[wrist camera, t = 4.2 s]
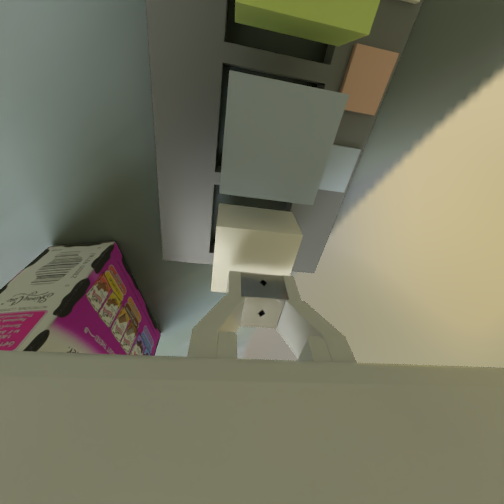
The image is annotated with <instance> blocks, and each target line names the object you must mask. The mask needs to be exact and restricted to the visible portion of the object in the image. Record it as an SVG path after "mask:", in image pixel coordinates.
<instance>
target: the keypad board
mask: <svg viewBox="0 0 504 504" xmlns="http://www.w3.org/2000/svg"><path fill="white" fill-rule="evenodd" d="M422 3H423V0H380V3H379V6H378V9H377V12H376V15H375V18H374V21H373V24H372V27H371V30H370V33H369V35H367V36H364V37H362V38H359V39H357V40H354V41H352V42H349V43H346V44H344V45H341V46H339V47H338V46H334V45H329V44H328V47H327V50H326V54H325V58H324V62H323V63H319V62H315V61H310V60H306V59H301V58H297V57H292V56H288V55H283V54H279V53H274V52H269V51H265V50H260V49H256V48H251V47H247V46H242V45H238V44H233V43H229V42H225V37H226V23H227V9H228V0H146V15H147V30H148V45H149V60H150V75H151V90H152V105H153V120H154V134H155V149H156V164H157V179H158V194H159V209H160V224H161V239H162V254H163V260H165V261H177V262H189V263H200V264H212V265H213V260H214V248H215V244H214V243H211V231H212V217H213V203H214V189H215V185H220V177H221V167H219V166H216V162H217V148H218V134H219V120H220V106H221V92H222V79H223V65H228V66H233V67H238V68H243V69H248V70H252V71H257V72H262V73H267V74H272V75H276V76H281V77H286V78H291V79H296V80H301V81H305V82H310V83H315V84H318V85H317V88H319V89H324V90H329V91H334V92H339V93H344V94H349V97H348V100H347V103H346V106H345V109H344V112H343V115H342V118H341V121H340V125H339V128H338V131H337V134H336V137H335V140H334V143H333V146H332V149H331V152H330V155H329V158H328V161H327V164H326V167H325V170H324V173H323V176H322V179H321V182H320V185H319V188H318V192H317V195H316V198H315V201H314V204H313V205H305V204H297V203H289V202H287V204H286V208H285V211H288V212H292V213H293V215H294V217H295V219H296V221H297V224H298V226H299V228H300V230H301V232H302V234H303V237H302V240H301V243H300V246H299V249H298V252H297V255H296V259H295V262H294V265H293V268H292V271H295V272H307V273H314V272H315V270H316V267H317V265H318V262H319V260H320V257H321V255H322V252H323V250H324V247H325V245H326V242H327V240H328V237H329V235H330V232H331V230H332V227H333V225H334V222H335V220H336V217H337V215H338V212H339V210H340V207H341V205H342V202H343V200H344V197H345V195H346V192H347V190H348V187H349V185H350V182H351V180H352V177H353V175H354V172H355V170H356V167H357V165H358V162H359V160H360V157H361V155H362V152H363V150H364V147H365V145H366V142H367V140H368V138H369V135H370V133H371V130H372V128H373V125H374V123H375V120H376V118H377V115H378V113H379V110H380V108H381V105H382V103H383V100H384V98H385V95H386V93H387V90H388V88H389V85H390V83H391V80H392V78H393V75H394V73H395V70H396V68H397V65H398V63H399V60H400V58H401V55H402V53H403V50H404V48H405V45H406V43H407V40H408V38H409V35H410V33H411V30H412V28H413V25H414V23H415V20H416V18H417V15H418V13H419V10H420V8H421V5H422Z"/></svg>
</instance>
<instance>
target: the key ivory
mask: <svg viewBox="0 0 504 504" xmlns="http://www.w3.org/2000/svg"><path fill="white" fill-rule="evenodd" d="M302 237H303V234H302V232H301V230H300V228H299V226H298V224H297V221H296V219H295V217H294V215H293V213H292V212H288V211H280V210H272V209H263V208H255V207H247V206H239V205H231V204H223V203H219V208H218V216H217V225H216V236H215V248H214V260H213V271H212V283H211V292H226V289H227V282H228V274H229V271H239V272H249V273H258V274H269V275H281V276H282V275H285V276H290V274H291V271H292V268H293V265H294V262H295V259H296V255H297V252H298V249H299V246H300V243H301V240H302Z"/></svg>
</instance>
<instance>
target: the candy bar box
mask: <svg viewBox="0 0 504 504" xmlns="http://www.w3.org/2000/svg"><path fill="white" fill-rule="evenodd" d="M159 339H160V332H159V330H158V328H157V326H156V324H155V322H154V320H153V318H152V316H151V314H150V312H149V310H148V308H147V306H146V304H145V302H144V300H143V298H142V296H141V294H140V292H139V290H138V288H137V285H136V283H135V281H134V279H133V277H132V275H131V273H130V271H129V269H128V267H127V265H126V262H125V260H124V258H123V256H122V254H121V252H120V250H119V248H118V246H117V244H116V242H114V241H110V242H97V243H90V244H74V245H71V244H70V245H60V246H51V247H48V248H47V249H46V250H45V251H44V252H42V253H41V254H40V255H39V256H38V257H37V258H36V259H35V260H33V261H32V262H31V263H30V264H29V265H28V266H27V267H25V268H24V269H23V270H22V271H21V272H20V273H19V274H18V275H16V276H15V277H14V278H13V279H12V280H11V281H10V282H9V283H7V284H6V285H5V286H4V287H3V288H2V289H0V350H4V351H33V352H63V353H92V354H121V355H149V356H154V355H155V352H156V348H157V345H158V342H159Z"/></svg>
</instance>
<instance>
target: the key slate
mask: <svg viewBox="0 0 504 504" xmlns="http://www.w3.org/2000/svg"><path fill="white" fill-rule="evenodd" d="M348 97H349V94H344V93H339V92H334V91H329V90H324V89H319V88H315V87H310V86H305V85H300V84H295V83H290V82H285V81H280V80H275V79H271V78H266V77H261V76H256V75H251V74H246V73H241V72H236V71H232V70H229V82H228V93H227V105H226V117H225V129H224V141H223V153H222V165H221V177H220V188H219V194H227V195H235V196H243V197H250V198H258V199H266V200H274V201H281V202H289V203H297V204H305V205H313V204H314V201H315V198H316V195H317V192H318V188H319V185H320V182H321V179H322V176H323V173H324V170H325V167H326V164H327V161H328V158H329V155H330V152H331V149H332V146H333V143H334V140H335V137H336V134H337V131H338V128H339V125H340V121H341V118H342V115H343V112H344V109H345V106H346V103H347V100H348Z"/></svg>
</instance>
